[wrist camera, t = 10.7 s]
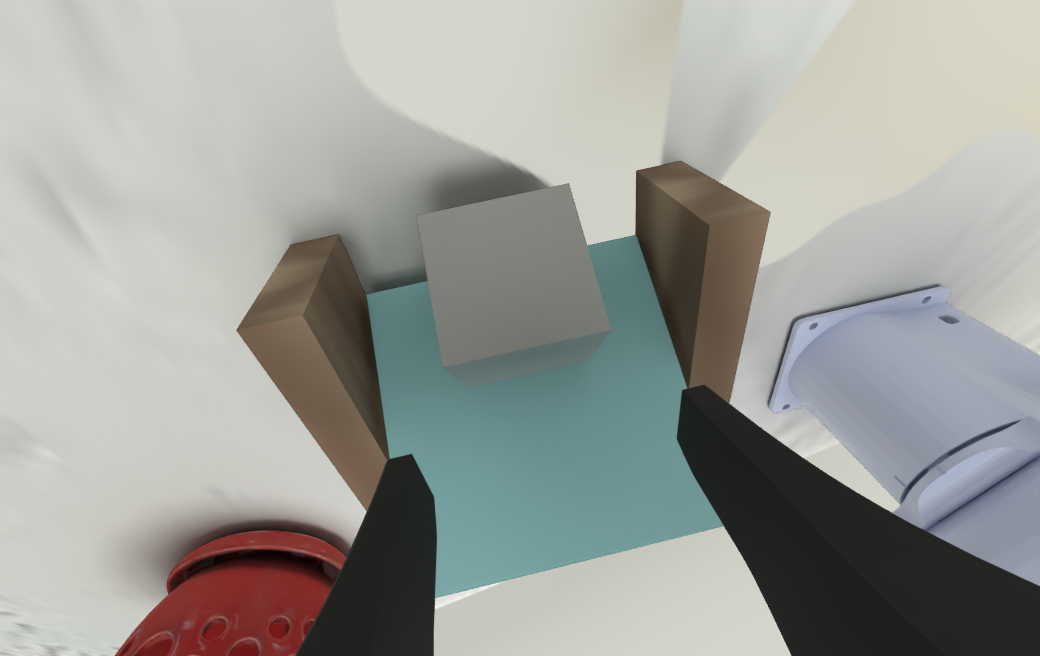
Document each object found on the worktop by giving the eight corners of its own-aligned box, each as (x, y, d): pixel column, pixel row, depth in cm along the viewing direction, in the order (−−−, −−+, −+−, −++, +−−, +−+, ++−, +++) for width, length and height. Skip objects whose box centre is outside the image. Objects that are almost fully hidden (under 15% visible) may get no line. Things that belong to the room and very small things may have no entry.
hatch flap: (620, 266, 22) (636, 234, 19) (696, 509, 19) (732, 523, 15) (391, 316, 21) (366, 294, 18) (431, 574, 18) (410, 604, 15)
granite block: (558, 251, 18) (569, 183, 14) (588, 360, 17) (611, 329, 12) (446, 275, 18) (416, 215, 13) (467, 388, 17) (443, 367, 12)
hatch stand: (681, 161, 18) (770, 211, 13) (663, 395, 27) (713, 476, 22) (290, 244, 17) (236, 330, 13) (403, 456, 26) (397, 553, 21)
